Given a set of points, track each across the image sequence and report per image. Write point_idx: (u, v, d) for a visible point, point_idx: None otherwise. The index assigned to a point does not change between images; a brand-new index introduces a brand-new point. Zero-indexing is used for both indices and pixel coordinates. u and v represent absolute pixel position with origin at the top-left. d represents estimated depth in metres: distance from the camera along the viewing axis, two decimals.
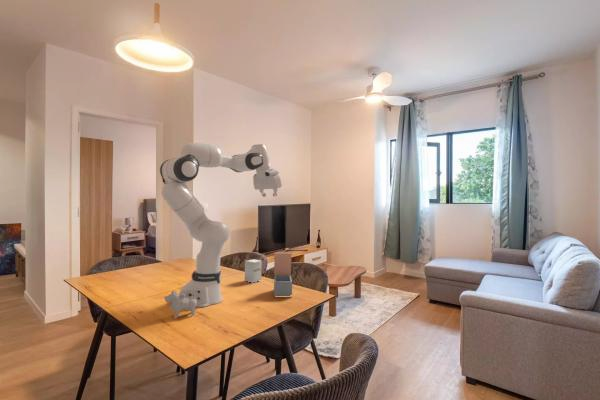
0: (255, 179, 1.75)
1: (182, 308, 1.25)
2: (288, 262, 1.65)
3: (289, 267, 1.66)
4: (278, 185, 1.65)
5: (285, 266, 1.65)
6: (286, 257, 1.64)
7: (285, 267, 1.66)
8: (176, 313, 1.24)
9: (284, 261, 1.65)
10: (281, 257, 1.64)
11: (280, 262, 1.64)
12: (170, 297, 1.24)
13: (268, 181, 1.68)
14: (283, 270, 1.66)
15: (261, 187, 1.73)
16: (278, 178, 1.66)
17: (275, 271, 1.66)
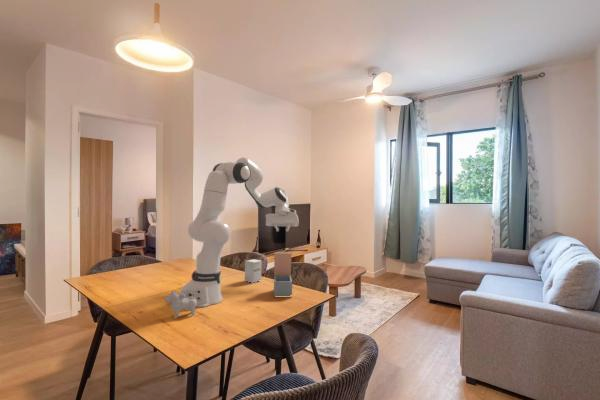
0: (271, 215, 1.85)
1: (182, 308, 1.25)
2: (288, 262, 1.65)
3: (289, 267, 1.66)
4: (298, 222, 1.84)
5: (285, 266, 1.65)
6: (286, 257, 1.64)
7: (285, 267, 1.66)
8: (176, 313, 1.24)
9: (284, 261, 1.65)
10: (281, 257, 1.64)
11: (280, 262, 1.64)
12: (170, 297, 1.24)
13: (288, 217, 1.85)
14: (283, 270, 1.66)
15: (277, 221, 1.82)
16: None
17: (275, 271, 1.66)
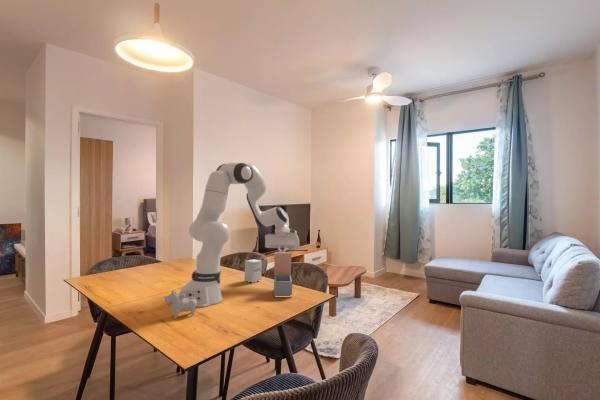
0: (270, 236, 1.78)
1: (182, 308, 1.25)
2: (288, 262, 1.65)
3: (289, 267, 1.66)
4: None
5: (285, 266, 1.65)
6: (286, 257, 1.64)
7: (285, 267, 1.66)
8: (176, 313, 1.24)
9: (284, 261, 1.65)
10: (281, 257, 1.64)
11: (280, 262, 1.64)
12: (170, 297, 1.24)
13: (288, 238, 1.78)
14: (283, 270, 1.66)
15: (276, 242, 1.75)
16: None
17: (275, 271, 1.66)
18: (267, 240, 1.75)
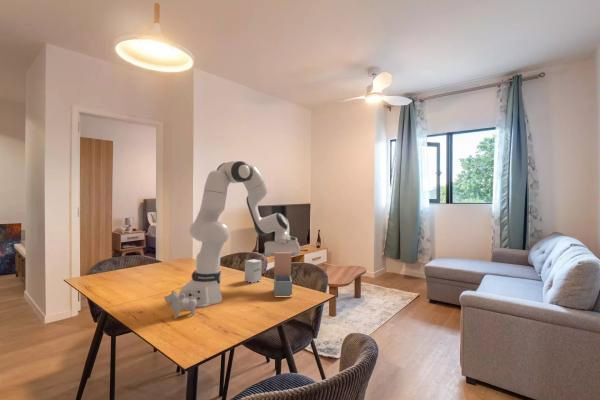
0: (270, 243, 1.72)
1: (182, 308, 1.25)
2: (288, 262, 1.65)
3: (289, 267, 1.66)
4: None
5: (285, 266, 1.65)
6: (286, 257, 1.64)
7: (285, 267, 1.66)
8: (176, 313, 1.24)
9: (284, 261, 1.65)
10: (281, 257, 1.64)
11: (280, 262, 1.64)
12: (170, 297, 1.24)
13: (288, 246, 1.72)
14: (283, 270, 1.66)
15: (276, 250, 1.69)
16: None
17: (275, 271, 1.66)
18: (267, 248, 1.69)
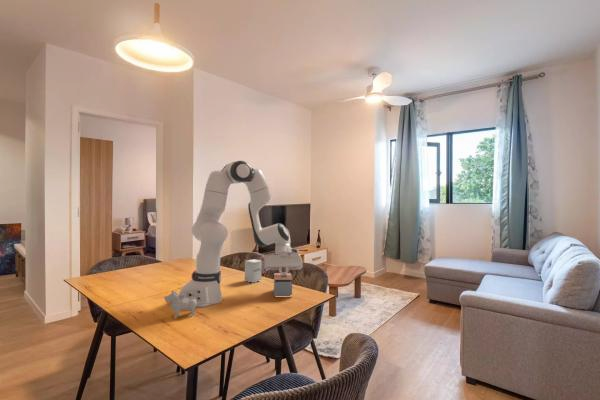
0: (270, 256, 1.61)
1: (182, 308, 1.25)
2: None
3: None
4: None
5: None
6: None
7: None
8: (176, 313, 1.24)
9: None
10: None
11: None
12: (170, 297, 1.24)
13: (290, 259, 1.61)
14: None
15: (277, 264, 1.58)
16: None
17: None
18: (267, 261, 1.59)
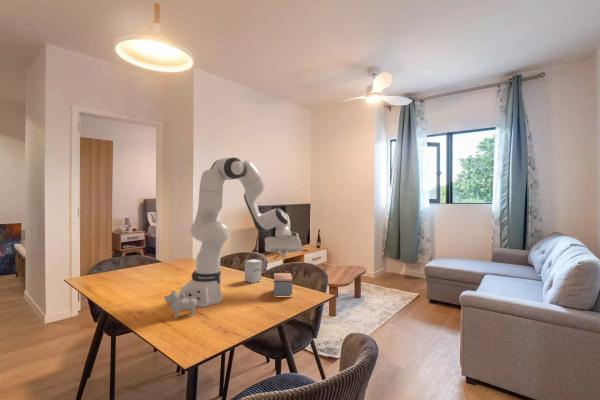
0: (270, 239, 1.68)
1: (182, 308, 1.25)
2: None
3: None
4: None
5: None
6: None
7: None
8: (176, 313, 1.24)
9: None
10: None
11: None
12: (170, 297, 1.24)
13: (289, 242, 1.68)
14: None
15: (277, 246, 1.65)
16: None
17: None
18: (267, 243, 1.65)
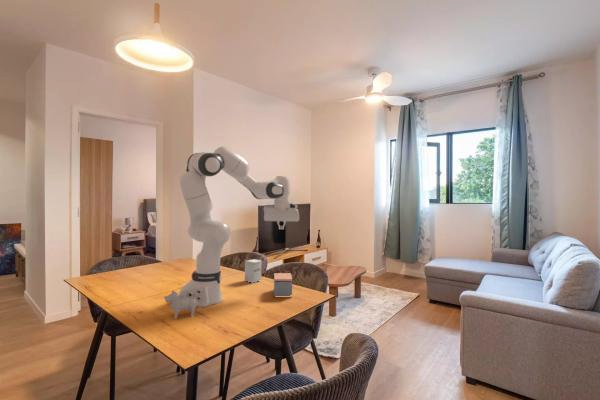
0: (269, 210, 1.69)
1: (182, 308, 1.25)
2: None
3: None
4: None
5: None
6: None
7: None
8: (176, 313, 1.24)
9: None
10: None
11: None
12: (170, 297, 1.24)
13: (288, 213, 1.71)
14: None
15: (276, 219, 1.70)
16: None
17: None
18: (266, 215, 1.69)
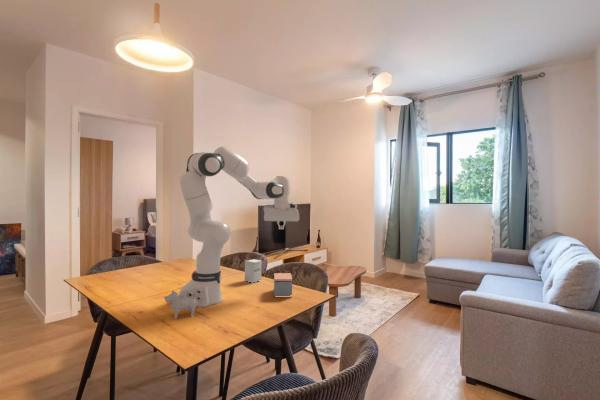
0: (269, 210, 1.69)
1: (182, 308, 1.25)
2: None
3: None
4: None
5: None
6: None
7: None
8: (176, 313, 1.24)
9: None
10: None
11: None
12: (170, 297, 1.24)
13: (288, 213, 1.71)
14: None
15: (276, 218, 1.70)
16: None
17: None
18: (266, 215, 1.69)
